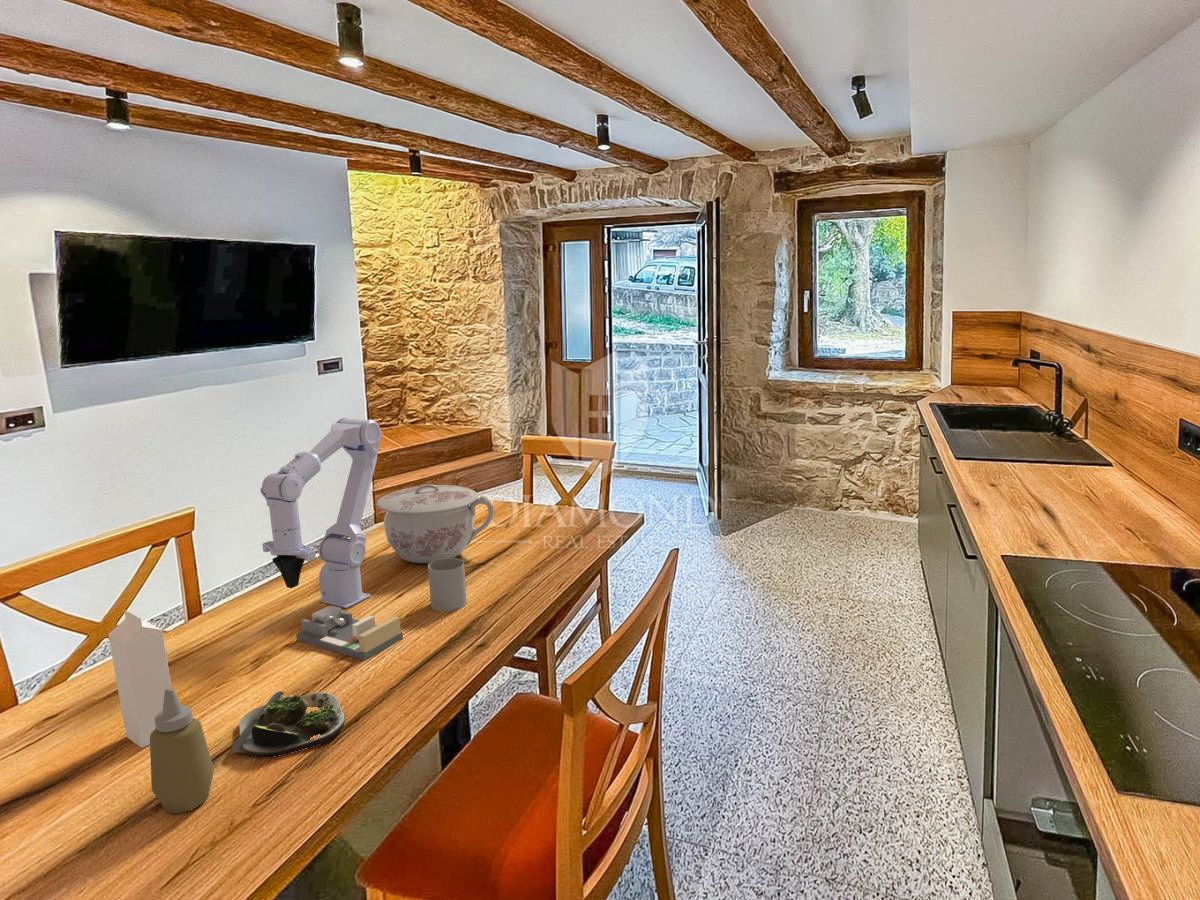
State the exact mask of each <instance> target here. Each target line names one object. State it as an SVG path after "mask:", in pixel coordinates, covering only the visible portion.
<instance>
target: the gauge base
mask: <svg viewBox="0 0 1200 900" xmlns="http://www.w3.org/2000/svg"><path fill="white" fill-rule="evenodd" d="M342 619H344V620H345V621H346V623H345V625H344V626H341V625H338V626H336V627H334V628H332V629H330V630H328V629H327V625H324V624H320V623H317V622H313V620H310V619H306V618H304V619H302V620H301V627H302V628H301V629H302V631H299V632H297V633H296V634H295V637H296V641H297V642H301V643H304V644H307V645H311V646H314V647H317V648H321V649H324V650H328V651H332V652H334V653H338V654H340V655H341V654H342V655H345V656H348V657H351V658H354V659H358V660H361V661H363V662H365V661H366V660H368V659H370V658H372V657H373V656H374V655H377V654H379V653H381V652H382V651H384V650H386V649H387V648H389V647H390V646H393V645H394V644H396V643H397V641H398V642H399V641H401V640H403V639H404V637H403V634H404V633H403V631H401V621H400V617H398V616H394V615H393V616H391V617H390V618H388V619H386V620H385V621H383V622H381V623H379V624H375V627H373V628H371V629H369V630H367V631H366V632H364V633H362V634H360V635H359V639H356V640H354V641H352V642H350V643H347V640H349V639H351V638H353V628H352V625H353V624H355V623H357V622H358V621H360V620H358V619H355V618H353V613H352V612H349V611H345V610H342ZM395 642H396V643H395ZM385 648H386V649H385ZM378 652H379V653H378Z"/></svg>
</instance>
